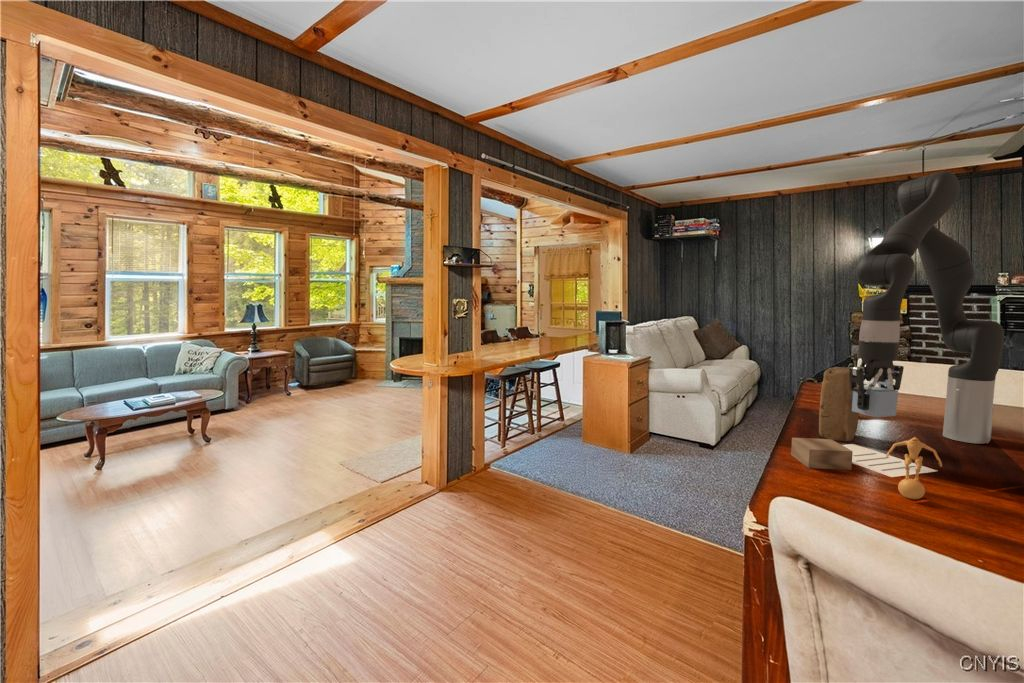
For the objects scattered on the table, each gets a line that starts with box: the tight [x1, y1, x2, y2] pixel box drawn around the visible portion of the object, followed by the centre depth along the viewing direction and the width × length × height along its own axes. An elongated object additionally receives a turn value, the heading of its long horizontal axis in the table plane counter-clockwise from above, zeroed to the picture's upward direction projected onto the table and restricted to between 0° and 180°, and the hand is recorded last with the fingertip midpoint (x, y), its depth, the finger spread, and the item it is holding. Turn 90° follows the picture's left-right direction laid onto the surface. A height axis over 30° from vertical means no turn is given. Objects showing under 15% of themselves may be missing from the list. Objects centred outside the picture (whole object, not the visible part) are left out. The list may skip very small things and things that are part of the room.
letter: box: [841, 443, 938, 478], centre depth 111 cm, size 14×20×1 cm
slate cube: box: [852, 385, 899, 418], centre depth 110 cm, size 6×6×6 cm
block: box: [818, 366, 860, 442], centre depth 128 cm, size 11×8×20 cm
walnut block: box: [790, 437, 853, 471], centre depth 109 cm, size 9×9×5 cm
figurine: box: [886, 436, 943, 500], centre depth 90 cm, size 8×6×12 cm
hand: (873, 408), depth 110 cm, fingers closed on slate cube, 6 cm apart
